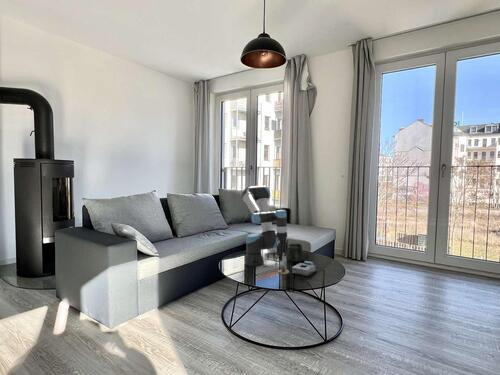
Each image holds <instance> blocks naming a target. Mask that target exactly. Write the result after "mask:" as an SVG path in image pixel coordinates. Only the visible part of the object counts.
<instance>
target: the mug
mask: <svg viewBox="0 0 500 375" xmlns="http://www.w3.org/2000/svg"><path fill="white" fill-rule="evenodd" d="M288 252H289V253H288V254H287V256H286V257H288V258H289V261H291V262H302V260H303V244H302V243H290V244H289V243H288Z"/></svg>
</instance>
